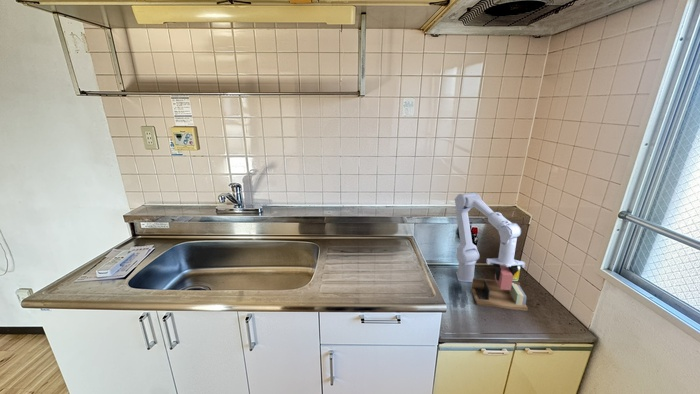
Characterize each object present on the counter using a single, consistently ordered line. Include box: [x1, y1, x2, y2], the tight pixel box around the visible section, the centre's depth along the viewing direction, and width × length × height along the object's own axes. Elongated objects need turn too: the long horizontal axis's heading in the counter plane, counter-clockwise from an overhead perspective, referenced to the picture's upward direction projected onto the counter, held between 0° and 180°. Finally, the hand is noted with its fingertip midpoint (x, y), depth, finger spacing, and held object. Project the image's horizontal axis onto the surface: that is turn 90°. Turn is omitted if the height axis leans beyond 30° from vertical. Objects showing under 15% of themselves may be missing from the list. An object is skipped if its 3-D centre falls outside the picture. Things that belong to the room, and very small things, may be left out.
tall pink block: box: [494, 265, 513, 290], centre depth 122 cm, size 9×4×7 cm, turn 168°
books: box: [509, 283, 527, 305], centre depth 124 cm, size 9×4×5 cm, turn 168°
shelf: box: [471, 277, 529, 312], centre depth 125 cm, size 12×20×6 cm, turn 78°
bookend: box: [475, 280, 490, 300], centre depth 128 cm, size 8×4×5 cm, turn 168°
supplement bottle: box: [512, 266, 521, 282], centre depth 141 cm, size 5×5×10 cm
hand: (502, 279), depth 123 cm, fingers closed on tall pink block, 4 cm apart
